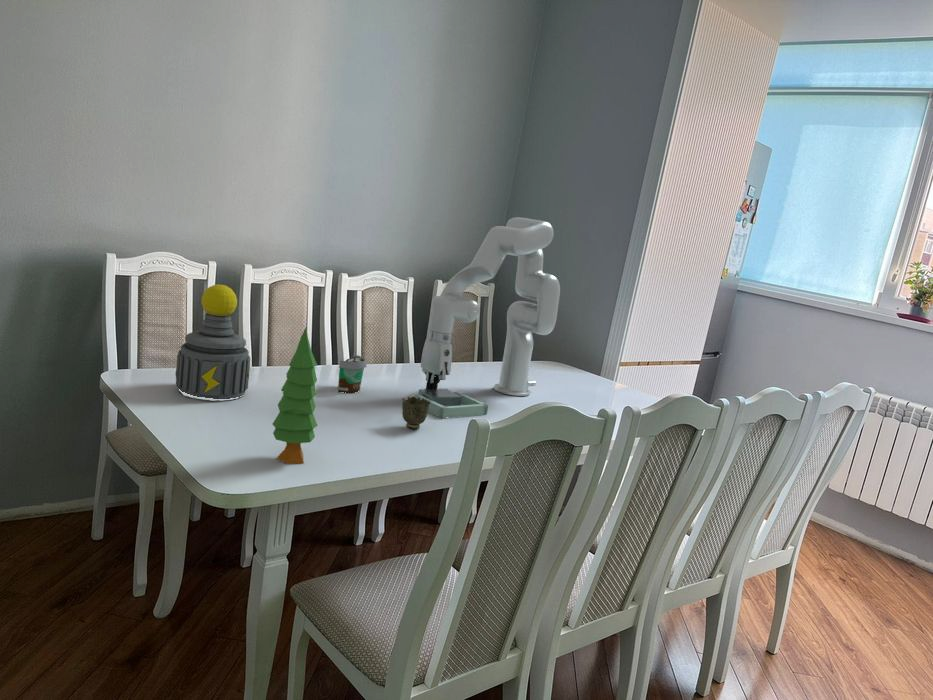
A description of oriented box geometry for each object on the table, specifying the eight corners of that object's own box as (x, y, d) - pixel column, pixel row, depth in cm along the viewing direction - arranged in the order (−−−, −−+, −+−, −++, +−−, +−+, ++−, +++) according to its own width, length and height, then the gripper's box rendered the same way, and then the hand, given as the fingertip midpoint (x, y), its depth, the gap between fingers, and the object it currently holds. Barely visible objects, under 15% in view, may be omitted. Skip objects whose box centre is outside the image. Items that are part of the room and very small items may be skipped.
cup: (412, 422, 202) (416, 394, 201) (431, 430, 198) (436, 402, 196) (393, 426, 196) (396, 397, 195) (412, 434, 192) (417, 405, 191)
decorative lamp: (247, 386, 214) (257, 284, 208) (246, 404, 196) (256, 293, 190) (178, 380, 208) (187, 276, 203) (170, 399, 191) (179, 285, 185)
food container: (355, 397, 219) (359, 364, 217) (335, 393, 220) (339, 360, 218) (368, 388, 231) (372, 357, 229) (350, 385, 232) (354, 354, 230)
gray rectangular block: (444, 402, 230) (446, 388, 229) (459, 410, 223) (461, 396, 222) (417, 403, 224) (419, 389, 223) (431, 412, 217) (433, 397, 216)
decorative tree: (277, 467, 156) (292, 329, 150) (261, 452, 163) (275, 320, 158) (320, 463, 162) (335, 330, 156) (302, 449, 169) (317, 321, 164)
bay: (456, 400, 232) (458, 391, 232) (486, 414, 222) (488, 405, 221) (413, 403, 221) (414, 394, 221) (442, 418, 211) (444, 408, 210)
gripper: (463, 342, 222) (454, 400, 225) (434, 331, 233) (426, 387, 236) (444, 342, 217) (435, 402, 220) (415, 331, 228) (407, 388, 232)
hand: (430, 394), depth 228 cm, fingers closed
